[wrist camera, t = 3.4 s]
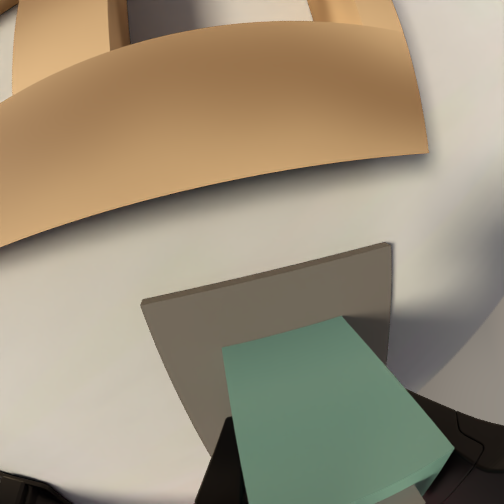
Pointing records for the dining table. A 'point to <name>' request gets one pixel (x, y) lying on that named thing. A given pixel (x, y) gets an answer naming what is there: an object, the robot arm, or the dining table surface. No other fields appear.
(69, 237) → the dining table surface
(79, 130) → the socket block
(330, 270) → the mat
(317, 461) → the plug
